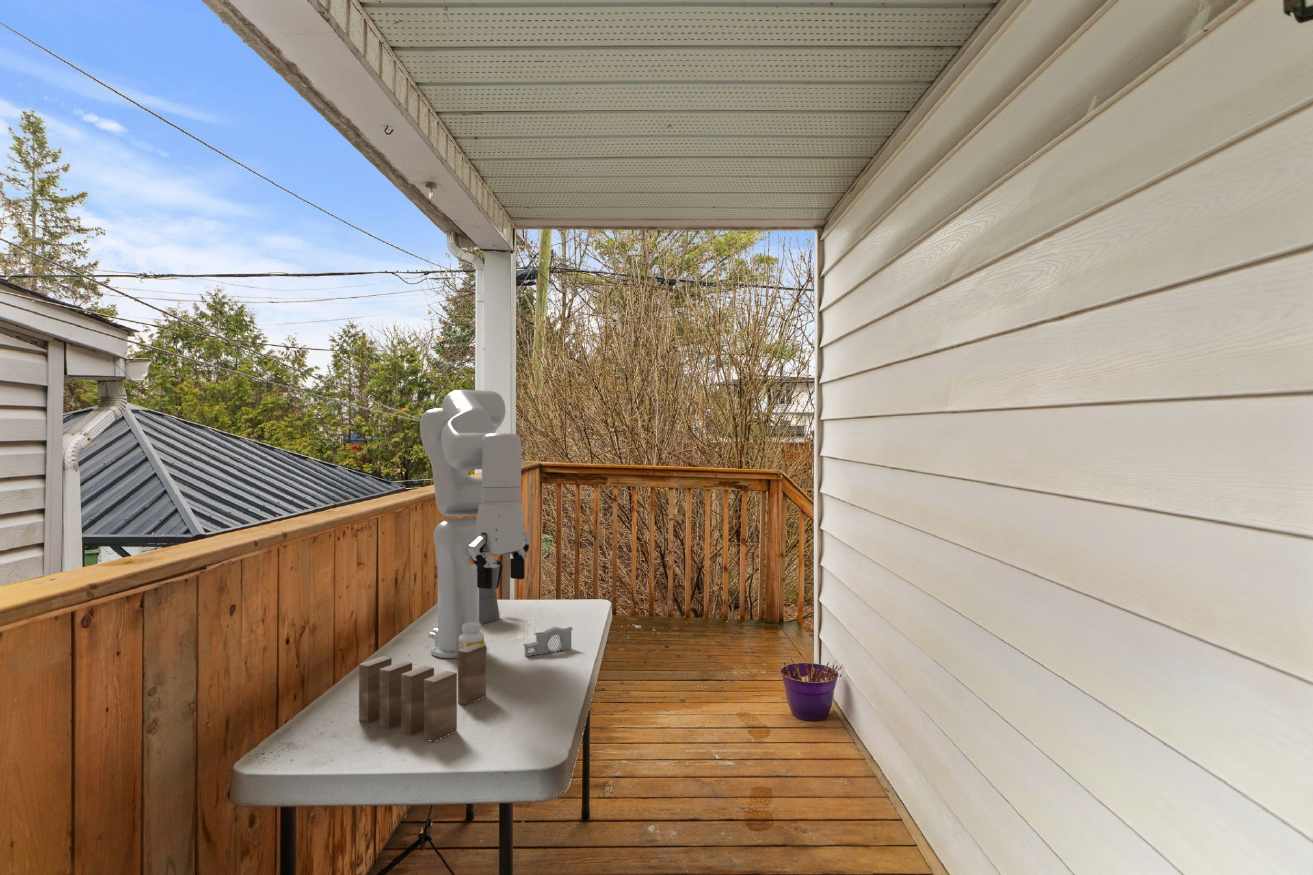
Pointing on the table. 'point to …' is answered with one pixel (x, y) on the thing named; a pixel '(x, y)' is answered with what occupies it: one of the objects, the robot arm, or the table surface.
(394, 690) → the domino
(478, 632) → the supplement bottle
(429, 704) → the domino
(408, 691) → the domino
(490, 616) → the coffeepot
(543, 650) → the garden wall model
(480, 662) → the domino
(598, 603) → the table surface
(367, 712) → the domino
